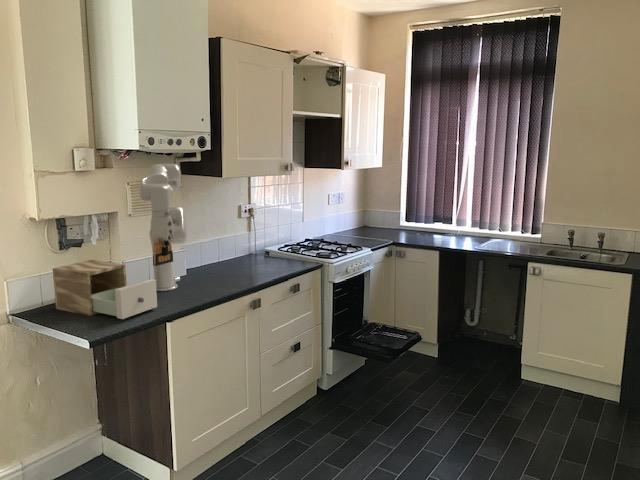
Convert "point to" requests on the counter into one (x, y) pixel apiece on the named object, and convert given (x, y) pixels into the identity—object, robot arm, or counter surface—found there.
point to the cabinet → (85, 284)
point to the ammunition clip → (157, 251)
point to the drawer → (126, 299)
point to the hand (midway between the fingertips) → (163, 254)
